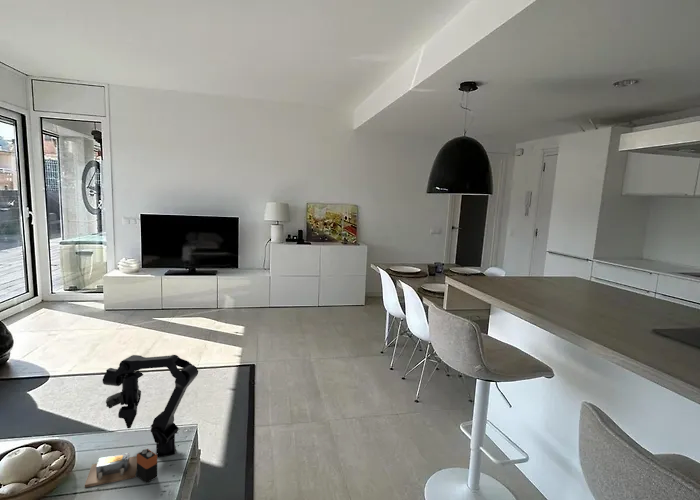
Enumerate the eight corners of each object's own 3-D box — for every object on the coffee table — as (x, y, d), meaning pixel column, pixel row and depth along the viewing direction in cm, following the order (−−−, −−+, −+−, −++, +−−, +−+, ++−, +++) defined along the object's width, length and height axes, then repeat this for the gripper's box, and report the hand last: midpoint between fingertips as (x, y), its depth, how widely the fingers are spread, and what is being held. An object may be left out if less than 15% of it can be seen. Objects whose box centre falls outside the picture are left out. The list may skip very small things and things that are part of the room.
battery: (146, 483, 141) (146, 458, 140) (136, 476, 144) (136, 451, 143) (157, 477, 144) (157, 452, 143) (147, 470, 148) (147, 445, 147)
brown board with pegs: (139, 457, 155) (138, 450, 154) (135, 477, 144) (135, 469, 143) (92, 466, 148) (92, 458, 148) (84, 487, 137) (84, 479, 137)
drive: (96, 477, 141) (96, 466, 141) (99, 467, 146) (99, 457, 146) (127, 471, 145) (127, 461, 145) (129, 462, 150) (129, 452, 150)
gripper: (111, 379, 164) (112, 414, 166) (102, 400, 147) (103, 438, 148) (141, 376, 168) (141, 410, 170) (135, 395, 151) (136, 433, 153)
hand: (130, 422), depth 160 cm, fingers open, 9 cm apart
